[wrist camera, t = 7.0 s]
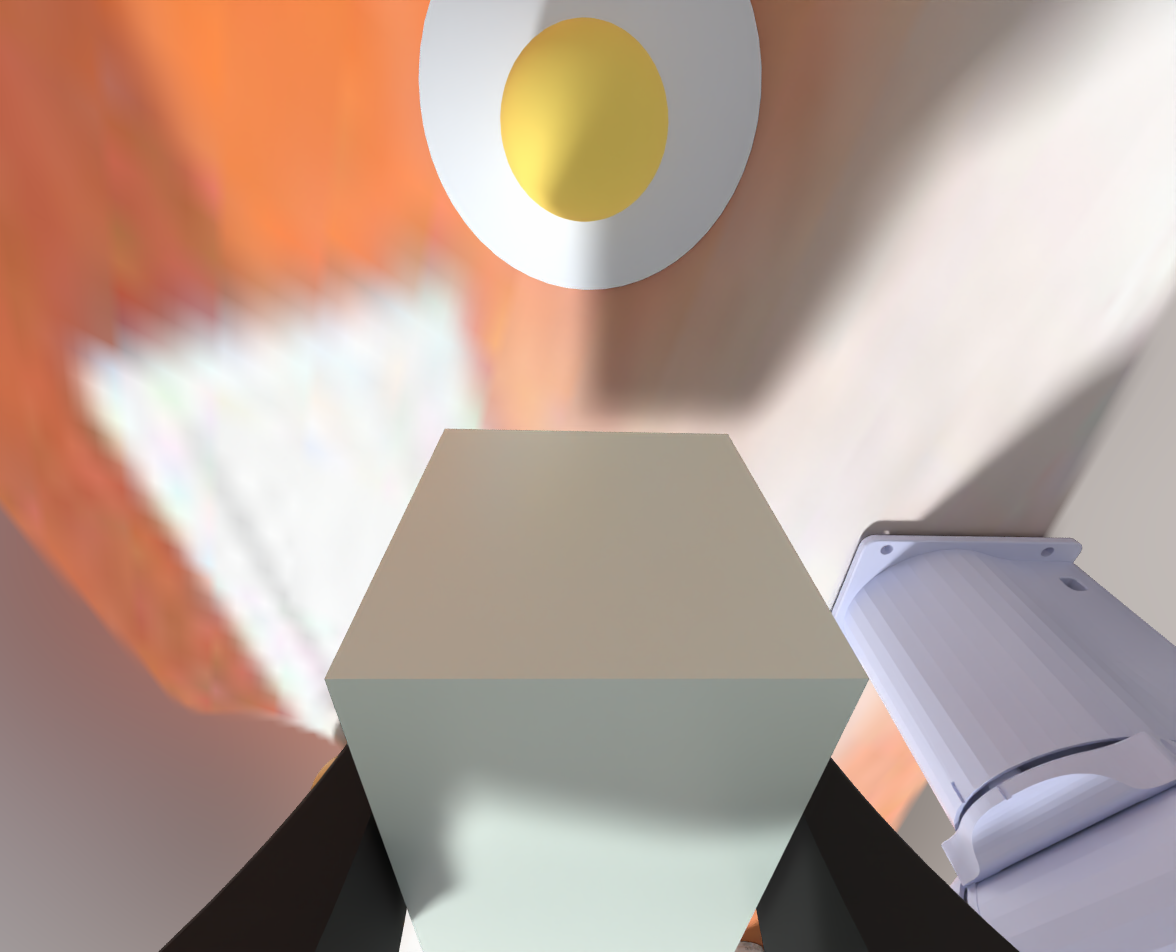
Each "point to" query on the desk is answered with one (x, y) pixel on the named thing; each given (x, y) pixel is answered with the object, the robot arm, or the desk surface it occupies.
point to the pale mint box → (589, 693)
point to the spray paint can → (748, 947)
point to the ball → (584, 119)
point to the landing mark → (692, 153)
